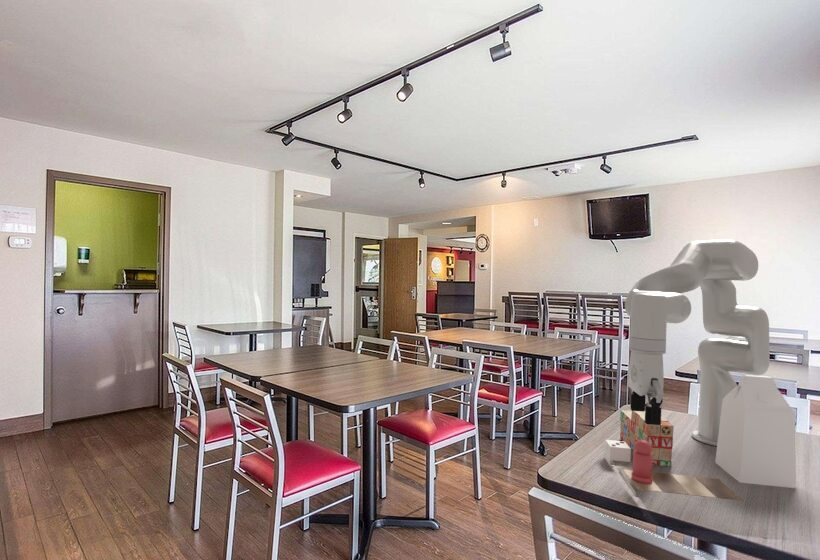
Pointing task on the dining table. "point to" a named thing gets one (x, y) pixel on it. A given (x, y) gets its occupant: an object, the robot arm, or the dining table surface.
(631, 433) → the stack of blocks
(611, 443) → the die
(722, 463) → the milk
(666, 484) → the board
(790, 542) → the dining table surface
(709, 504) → the dining table surface
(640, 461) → the pawn
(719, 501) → the dining table surface
